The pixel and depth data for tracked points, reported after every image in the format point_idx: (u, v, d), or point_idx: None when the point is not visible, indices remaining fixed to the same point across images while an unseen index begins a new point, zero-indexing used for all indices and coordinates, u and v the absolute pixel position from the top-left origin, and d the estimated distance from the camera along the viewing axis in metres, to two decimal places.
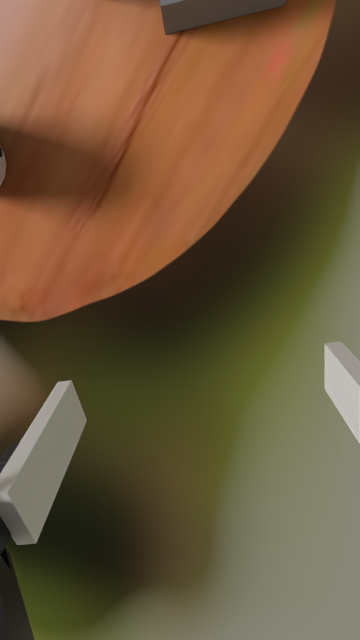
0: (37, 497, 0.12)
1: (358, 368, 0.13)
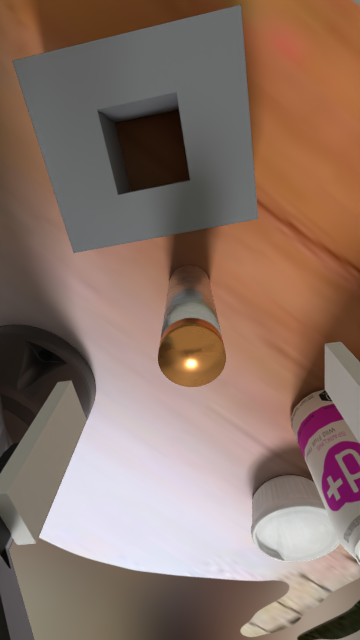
0: (37, 497, 0.12)
1: (358, 368, 0.13)
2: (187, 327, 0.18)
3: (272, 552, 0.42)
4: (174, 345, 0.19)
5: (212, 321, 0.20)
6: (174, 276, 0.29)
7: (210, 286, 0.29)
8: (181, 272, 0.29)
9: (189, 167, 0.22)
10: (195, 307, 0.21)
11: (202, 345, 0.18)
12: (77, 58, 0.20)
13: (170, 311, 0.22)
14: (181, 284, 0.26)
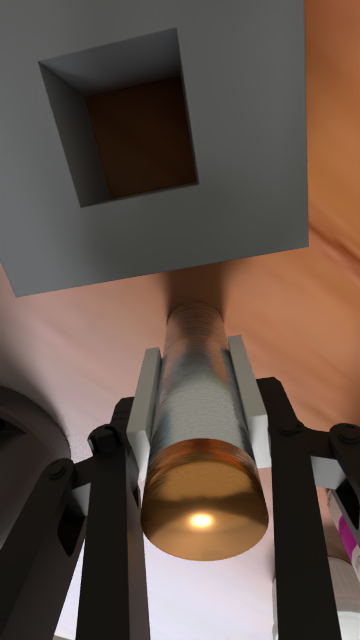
0: None
1: (242, 357, 0.16)
2: (196, 472, 0.09)
3: None
4: (171, 502, 0.10)
5: (239, 437, 0.11)
6: (174, 320, 0.20)
7: (225, 336, 0.20)
8: (184, 315, 0.20)
9: (198, 162, 0.13)
10: (208, 405, 0.12)
11: (224, 503, 0.10)
12: None
13: (165, 405, 0.13)
14: (184, 341, 0.17)
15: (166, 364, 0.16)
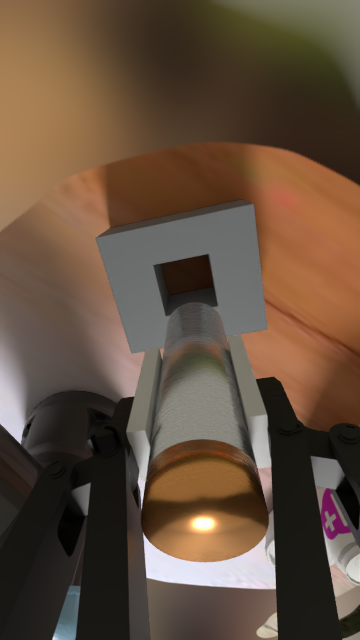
0: None
1: (242, 357, 0.16)
2: (196, 473, 0.09)
3: None
4: (171, 503, 0.10)
5: (240, 438, 0.11)
6: (174, 321, 0.20)
7: None
8: (184, 316, 0.20)
9: (217, 298, 0.31)
10: (208, 406, 0.12)
11: (225, 504, 0.10)
12: (140, 235, 0.28)
13: (166, 406, 0.13)
14: (185, 342, 0.17)
15: (166, 365, 0.16)
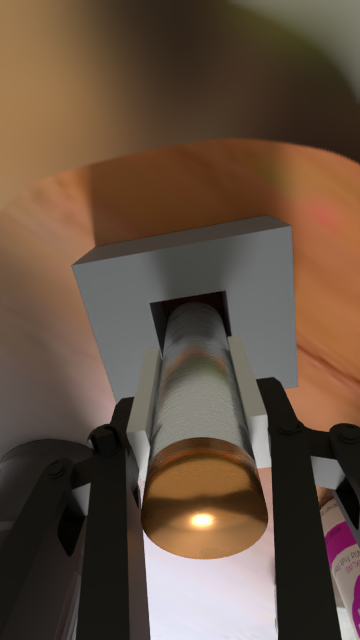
0: None
1: (242, 357, 0.16)
2: (196, 471, 0.09)
3: None
4: (171, 500, 0.10)
5: (239, 436, 0.11)
6: (174, 320, 0.20)
7: (225, 335, 0.20)
8: (184, 315, 0.20)
9: None
10: (208, 404, 0.12)
11: (224, 501, 0.10)
12: (133, 264, 0.21)
13: (165, 404, 0.13)
14: (184, 341, 0.17)
15: (166, 364, 0.16)
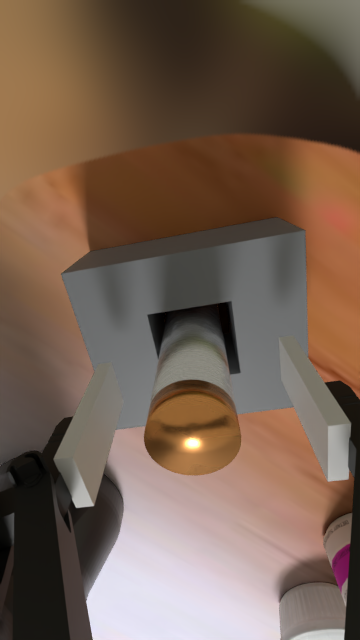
0: (93, 465, 0.13)
1: (302, 359, 0.15)
2: (185, 399, 0.13)
3: None
4: (167, 423, 0.13)
5: (222, 382, 0.14)
6: None
7: (218, 315, 0.23)
8: None
9: (240, 362, 0.21)
10: (198, 359, 0.15)
11: (207, 424, 0.13)
12: (129, 272, 0.19)
13: (165, 361, 0.16)
14: (182, 316, 0.20)
15: (166, 334, 0.19)
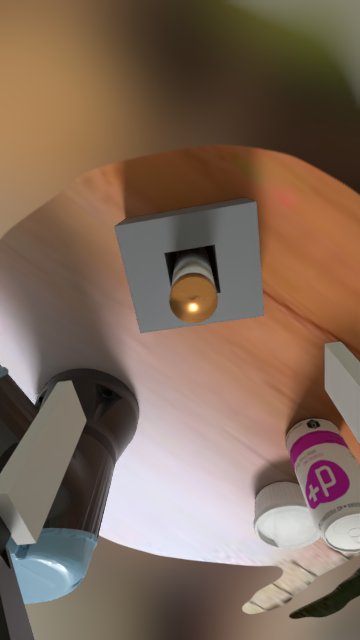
0: (37, 497, 0.12)
1: (358, 368, 0.13)
2: (190, 277, 0.26)
3: (270, 541, 0.54)
4: (181, 290, 0.26)
5: (209, 276, 0.28)
6: (180, 251, 0.37)
7: (208, 259, 0.36)
8: None
9: (220, 285, 0.34)
10: (196, 267, 0.28)
11: (201, 290, 0.26)
12: (154, 226, 0.32)
13: (178, 271, 0.29)
14: (186, 254, 0.33)
15: (177, 264, 0.32)
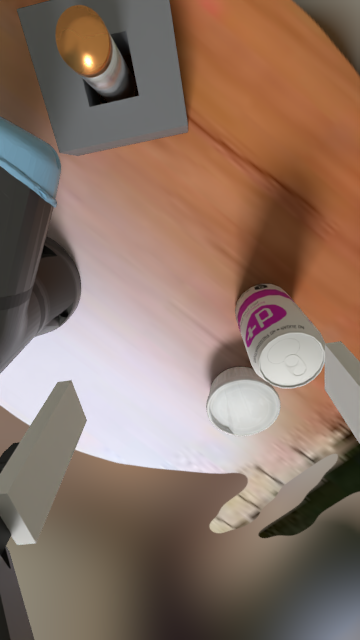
0: (37, 497, 0.12)
1: (358, 368, 0.13)
2: (75, 6, 0.23)
3: (225, 428, 0.52)
4: (66, 24, 0.24)
5: None
6: None
7: (130, 72, 0.34)
8: None
9: (137, 85, 0.32)
10: None
11: (88, 24, 0.24)
12: (59, 7, 0.30)
13: None
14: None
15: None
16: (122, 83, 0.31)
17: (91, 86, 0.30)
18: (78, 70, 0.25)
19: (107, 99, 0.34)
